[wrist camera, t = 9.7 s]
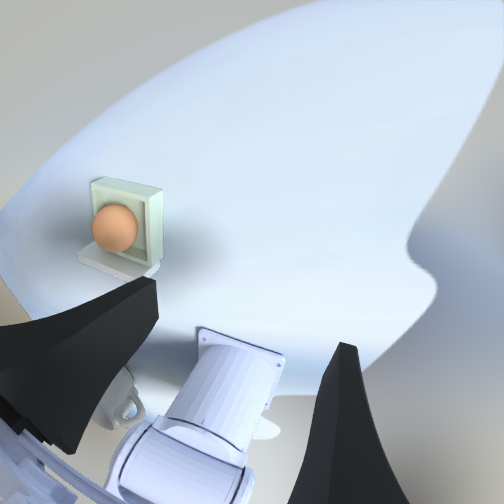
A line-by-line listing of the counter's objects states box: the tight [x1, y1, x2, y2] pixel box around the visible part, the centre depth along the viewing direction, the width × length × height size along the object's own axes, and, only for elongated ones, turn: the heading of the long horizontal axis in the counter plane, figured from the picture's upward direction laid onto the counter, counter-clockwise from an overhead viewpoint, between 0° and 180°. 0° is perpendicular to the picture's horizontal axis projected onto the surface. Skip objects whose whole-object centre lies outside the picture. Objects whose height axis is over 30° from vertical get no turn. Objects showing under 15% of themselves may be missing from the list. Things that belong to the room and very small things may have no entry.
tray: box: [91, 176, 164, 268], centre depth 23 cm, size 6×6×2 cm
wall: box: [77, 240, 160, 283], centre depth 24 cm, size 1×7×3 cm, turn 83°
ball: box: [92, 204, 138, 253], centre depth 22 cm, size 4×4×4 cm
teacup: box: [90, 366, 145, 432], centre depth 35 cm, size 14×11×8 cm
